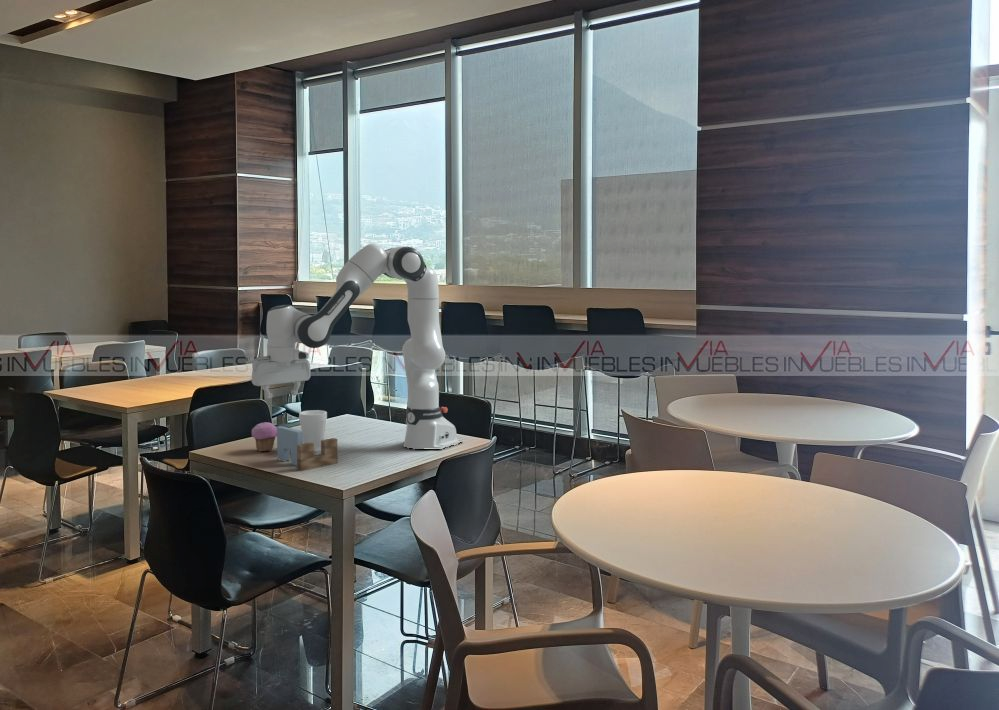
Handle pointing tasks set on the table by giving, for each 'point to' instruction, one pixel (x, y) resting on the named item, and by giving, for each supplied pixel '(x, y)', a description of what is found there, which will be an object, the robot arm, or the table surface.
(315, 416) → the foam cup
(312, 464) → the notched wood cradle
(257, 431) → the cupcake
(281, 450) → the pale blue arch brick
